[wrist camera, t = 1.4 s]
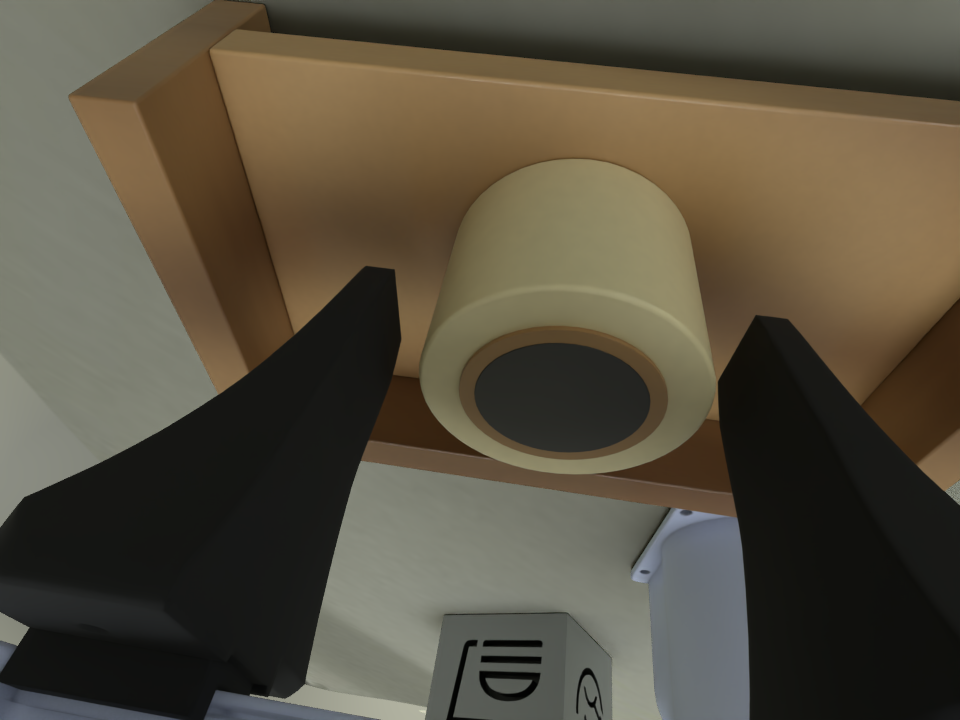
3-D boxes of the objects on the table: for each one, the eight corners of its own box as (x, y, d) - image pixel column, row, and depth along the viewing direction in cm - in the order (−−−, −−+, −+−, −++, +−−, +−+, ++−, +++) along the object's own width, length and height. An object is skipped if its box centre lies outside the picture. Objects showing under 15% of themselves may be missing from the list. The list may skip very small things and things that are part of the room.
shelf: (827, 394, 19) (879, 540, 15) (304, 323, 20) (242, 443, 17) (1085, 82, 11) (1304, 232, 8) (214, -2, 12) (64, 95, 9)
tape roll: (653, 358, 15) (665, 496, 12) (454, 331, 15) (422, 460, 12) (730, 172, 11) (773, 317, 8) (456, 142, 11) (408, 270, 8)
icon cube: (443, 615, 42) (414, 776, 36) (567, 613, 38) (560, 795, 31) (499, 656, 48) (483, 800, 42) (611, 658, 44) (613, 819, 38)
